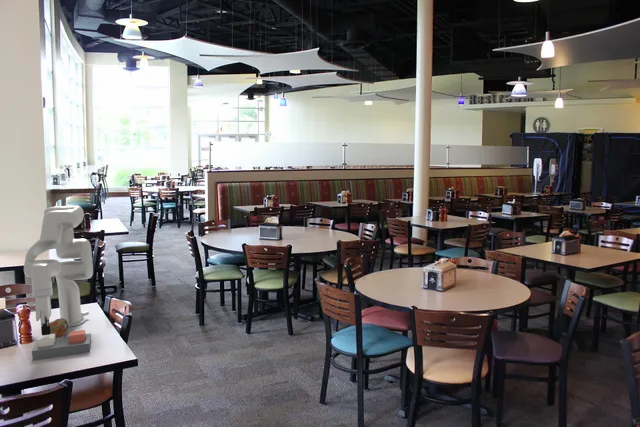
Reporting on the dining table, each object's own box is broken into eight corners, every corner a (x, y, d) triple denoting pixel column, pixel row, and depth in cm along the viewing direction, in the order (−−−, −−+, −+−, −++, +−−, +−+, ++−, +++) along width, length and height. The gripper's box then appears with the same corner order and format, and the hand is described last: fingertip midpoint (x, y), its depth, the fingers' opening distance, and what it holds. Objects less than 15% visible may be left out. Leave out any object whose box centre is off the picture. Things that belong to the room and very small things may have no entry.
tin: (47, 344, 244) (45, 326, 243) (41, 344, 245) (39, 326, 244) (69, 333, 259) (67, 316, 258) (63, 333, 260) (61, 316, 259)
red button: (85, 338, 241) (85, 329, 241) (84, 342, 236) (84, 333, 235) (70, 340, 239) (70, 331, 239) (69, 344, 234) (68, 335, 233)
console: (91, 341, 246) (91, 333, 246) (90, 352, 233) (89, 343, 233) (37, 349, 239) (36, 340, 238) (32, 360, 226) (31, 351, 225)
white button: (55, 342, 237) (55, 333, 237) (54, 346, 232) (53, 337, 231) (40, 344, 235) (39, 335, 235) (38, 349, 230) (37, 339, 229)
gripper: (35, 289, 236) (38, 330, 238) (29, 297, 222) (33, 341, 224) (54, 287, 239) (57, 328, 241) (50, 295, 225) (53, 338, 227)
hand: (46, 334), depth 233 cm, fingers closed
